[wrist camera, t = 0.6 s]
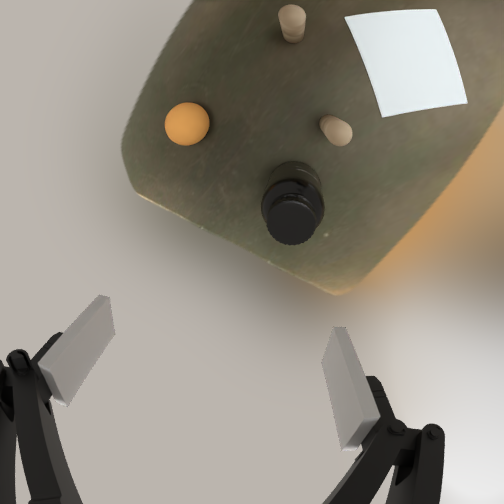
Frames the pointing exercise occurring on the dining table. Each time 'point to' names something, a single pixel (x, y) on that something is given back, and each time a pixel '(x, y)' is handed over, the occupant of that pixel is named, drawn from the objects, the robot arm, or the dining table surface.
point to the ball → (187, 123)
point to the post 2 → (335, 130)
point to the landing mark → (408, 60)
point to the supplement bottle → (293, 203)
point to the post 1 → (292, 23)
